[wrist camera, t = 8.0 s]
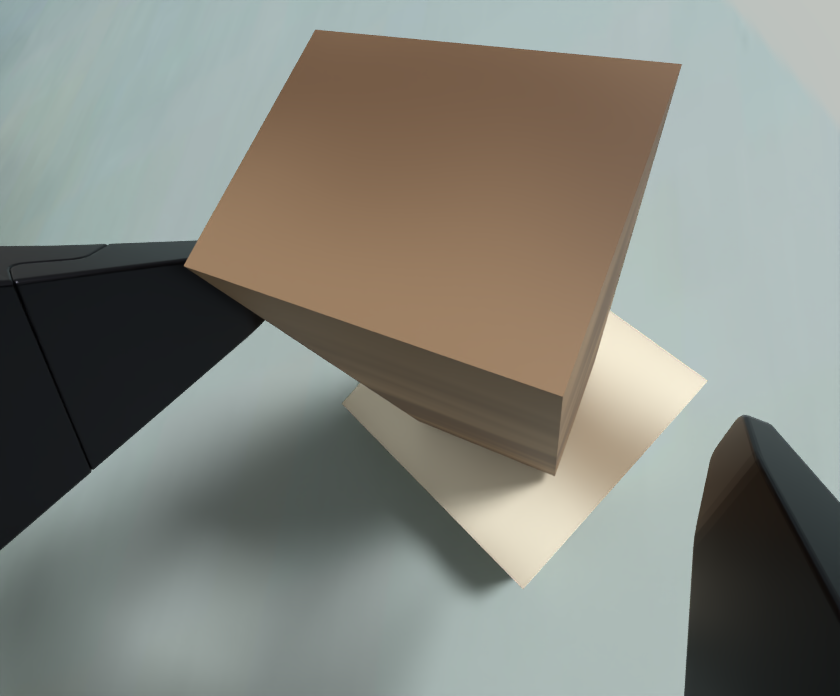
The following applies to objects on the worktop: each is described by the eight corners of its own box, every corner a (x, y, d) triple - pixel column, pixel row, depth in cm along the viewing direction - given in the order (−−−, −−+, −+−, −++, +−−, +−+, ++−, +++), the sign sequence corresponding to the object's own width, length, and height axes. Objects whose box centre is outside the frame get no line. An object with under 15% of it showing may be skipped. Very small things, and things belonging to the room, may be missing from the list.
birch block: (526, 569, 18) (523, 589, 15) (368, 411, 21) (341, 403, 18) (682, 393, 18) (708, 381, 16) (503, 260, 21) (497, 229, 19)
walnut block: (554, 476, 16) (562, 396, 5) (418, 420, 17) (182, 265, 6) (593, 364, 16) (681, 64, 5) (459, 322, 18) (315, 29, 7)
